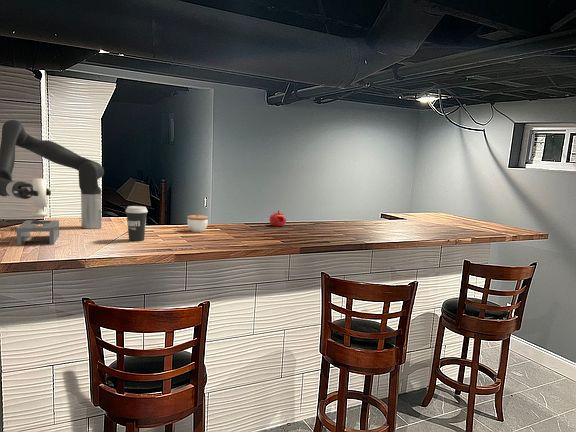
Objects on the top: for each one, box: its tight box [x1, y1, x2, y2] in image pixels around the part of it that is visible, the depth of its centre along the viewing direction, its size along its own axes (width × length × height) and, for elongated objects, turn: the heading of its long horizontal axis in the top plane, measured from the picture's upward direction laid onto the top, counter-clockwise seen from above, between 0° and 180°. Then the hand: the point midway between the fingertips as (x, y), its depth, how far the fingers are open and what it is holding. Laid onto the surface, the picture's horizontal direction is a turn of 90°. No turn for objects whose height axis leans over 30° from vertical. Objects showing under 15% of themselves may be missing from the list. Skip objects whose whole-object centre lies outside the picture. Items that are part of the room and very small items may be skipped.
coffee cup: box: [125, 205, 149, 242], centre depth 194 cm, size 10×10×15 cm
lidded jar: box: [186, 212, 209, 233], centre depth 225 cm, size 11×11×9 cm
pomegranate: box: [269, 209, 287, 228], centre depth 256 cm, size 10×10×9 cm
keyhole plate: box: [16, 219, 60, 247], centre depth 184 cm, size 20×13×7 cm, turn 22°
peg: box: [32, 177, 48, 218], centre depth 186 cm, size 6×6×16 cm
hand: (43, 193), depth 185 cm, fingers closed on peg, 5 cm apart
